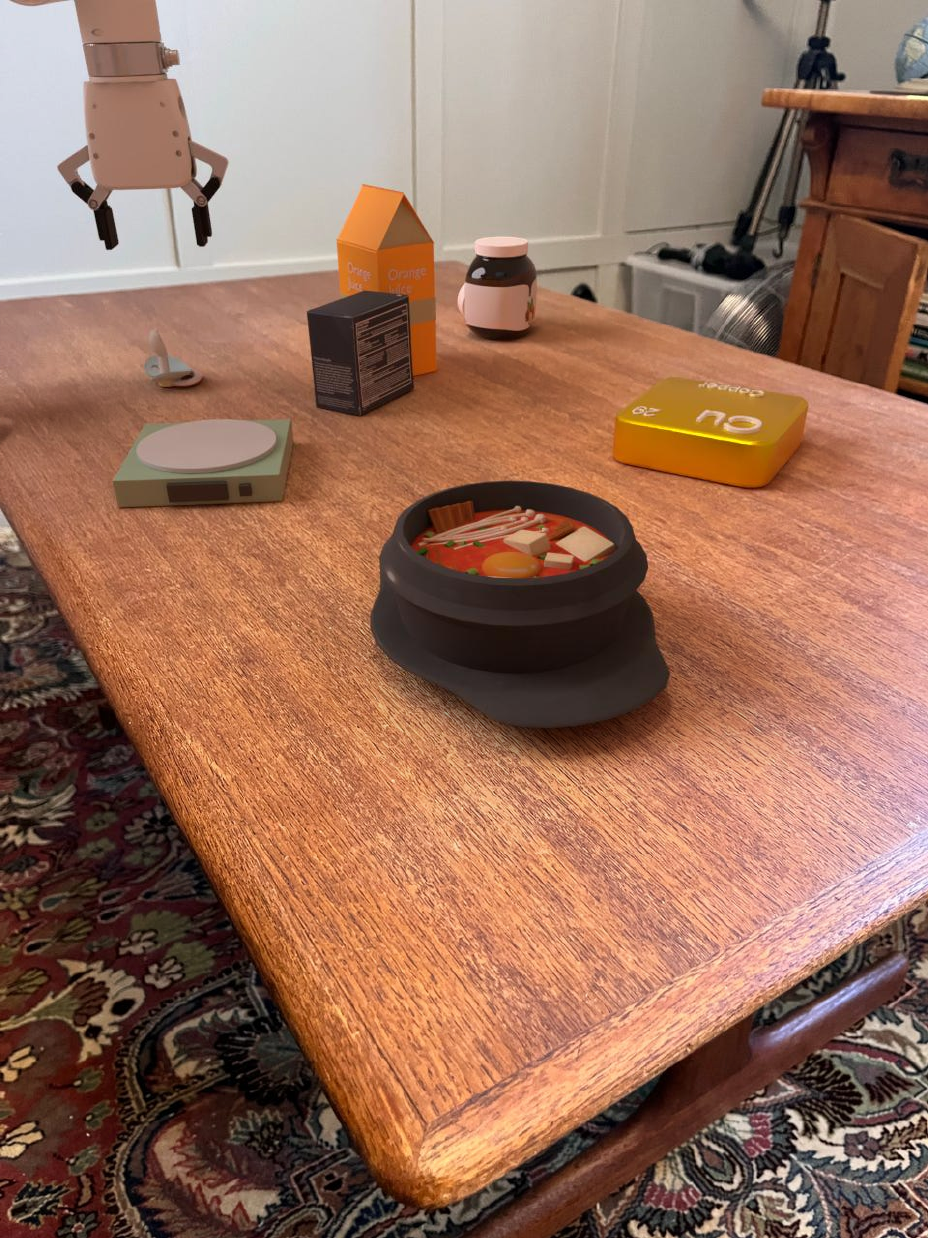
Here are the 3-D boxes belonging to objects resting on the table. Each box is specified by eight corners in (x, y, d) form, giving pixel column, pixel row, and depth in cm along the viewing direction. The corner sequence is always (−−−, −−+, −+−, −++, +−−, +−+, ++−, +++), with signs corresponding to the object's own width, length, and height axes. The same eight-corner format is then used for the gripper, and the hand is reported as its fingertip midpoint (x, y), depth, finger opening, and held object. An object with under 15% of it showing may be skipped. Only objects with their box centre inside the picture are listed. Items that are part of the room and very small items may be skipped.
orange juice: (382, 382, 113) (372, 195, 102) (344, 365, 119) (331, 186, 109) (438, 370, 117) (434, 188, 106) (398, 353, 123) (390, 180, 113)
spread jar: (507, 345, 125) (508, 250, 119) (433, 334, 131) (431, 242, 125) (550, 324, 134) (553, 234, 128) (479, 314, 139) (479, 227, 133)
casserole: (325, 582, 72) (315, 476, 68) (550, 538, 78) (554, 438, 74) (452, 790, 52) (449, 659, 48) (740, 708, 59) (761, 586, 54)
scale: (116, 510, 83) (109, 477, 82) (149, 448, 96) (144, 418, 94) (282, 503, 84) (278, 471, 83) (293, 442, 97) (290, 413, 95)
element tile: (806, 439, 96) (815, 392, 94) (763, 493, 85) (772, 441, 83) (662, 414, 103) (666, 369, 101) (604, 461, 92) (608, 411, 90)
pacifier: (194, 371, 118) (143, 376, 115) (188, 318, 114) (135, 322, 112) (208, 388, 112) (154, 394, 110) (202, 333, 109) (147, 338, 107)
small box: (369, 380, 114) (363, 287, 108) (416, 389, 111) (412, 294, 105) (312, 407, 106) (303, 308, 100) (361, 417, 103) (354, 315, 98)
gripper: (219, 60, 101) (242, 236, 110) (48, 65, 100) (85, 242, 109) (209, 63, 94) (234, 249, 103) (25, 68, 93) (67, 255, 102)
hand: (157, 245), depth 106 cm, fingers open, 9 cm apart
